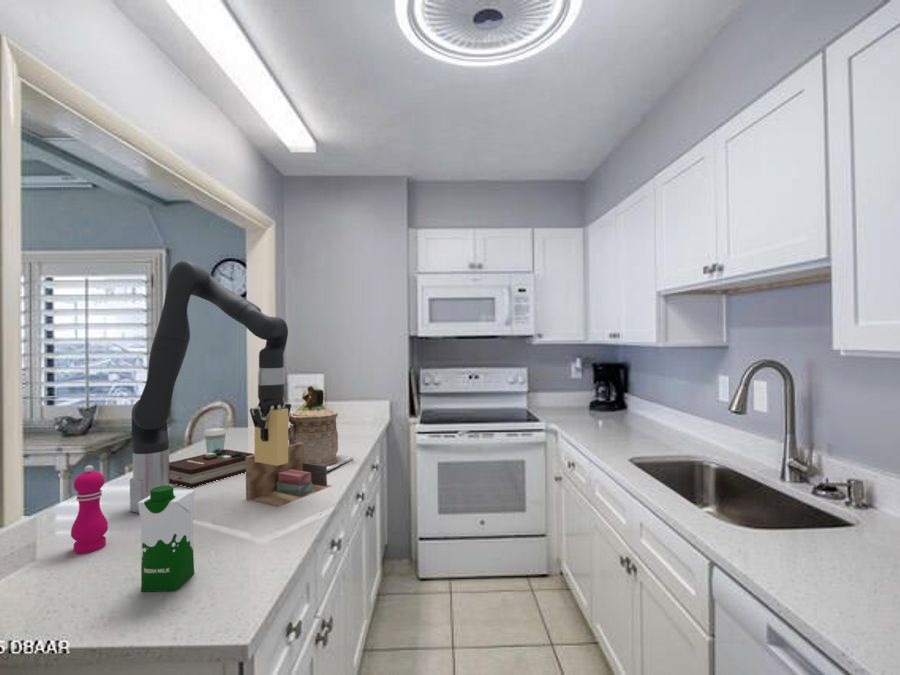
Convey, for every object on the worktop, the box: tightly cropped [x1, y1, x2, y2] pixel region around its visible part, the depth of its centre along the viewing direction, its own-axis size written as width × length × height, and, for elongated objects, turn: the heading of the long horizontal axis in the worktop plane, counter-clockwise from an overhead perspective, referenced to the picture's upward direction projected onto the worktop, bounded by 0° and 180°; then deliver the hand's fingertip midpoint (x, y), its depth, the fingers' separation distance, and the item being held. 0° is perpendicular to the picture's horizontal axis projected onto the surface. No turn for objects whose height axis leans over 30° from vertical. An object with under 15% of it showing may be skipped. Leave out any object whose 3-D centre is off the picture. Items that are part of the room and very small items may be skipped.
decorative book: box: [169, 448, 255, 489], centre depth 178 cm, size 19×8×30 cm
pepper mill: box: [70, 464, 109, 554], centre depth 116 cm, size 7×7×20 cm
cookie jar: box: [288, 385, 354, 472], centre depth 191 cm, size 25×25×32 cm
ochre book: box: [254, 409, 289, 466], centre depth 145 cm, size 4×10×16 cm, turn 60°
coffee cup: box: [203, 427, 227, 454], centre depth 206 cm, size 8×8×12 cm
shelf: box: [245, 443, 331, 508], centre depth 152 cm, size 22×14×14 cm, turn 151°
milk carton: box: [138, 485, 196, 593], centre depth 99 cm, size 9×9×20 cm
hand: (271, 439), depth 145 cm, fingers closed on ochre book, 4 cm apart
